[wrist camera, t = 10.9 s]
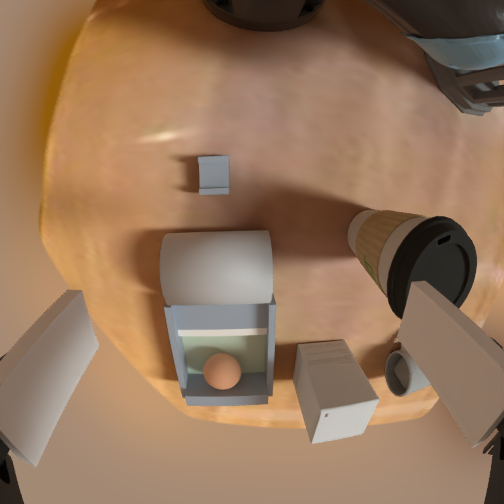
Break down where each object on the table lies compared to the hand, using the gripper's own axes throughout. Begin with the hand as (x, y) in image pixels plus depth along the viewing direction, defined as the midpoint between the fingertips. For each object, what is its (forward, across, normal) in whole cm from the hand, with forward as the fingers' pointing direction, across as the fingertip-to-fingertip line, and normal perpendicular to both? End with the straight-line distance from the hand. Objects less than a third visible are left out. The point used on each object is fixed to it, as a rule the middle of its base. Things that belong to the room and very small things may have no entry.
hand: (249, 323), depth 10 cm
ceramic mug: (+22, +27, -23) cm, 42 cm away
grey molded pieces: (+24, -3, -10) cm, 26 cm away
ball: (+18, -3, -20) cm, 28 cm away
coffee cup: (+22, +16, -3) cm, 28 cm away
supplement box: (+22, +11, -22) cm, 33 cm away
